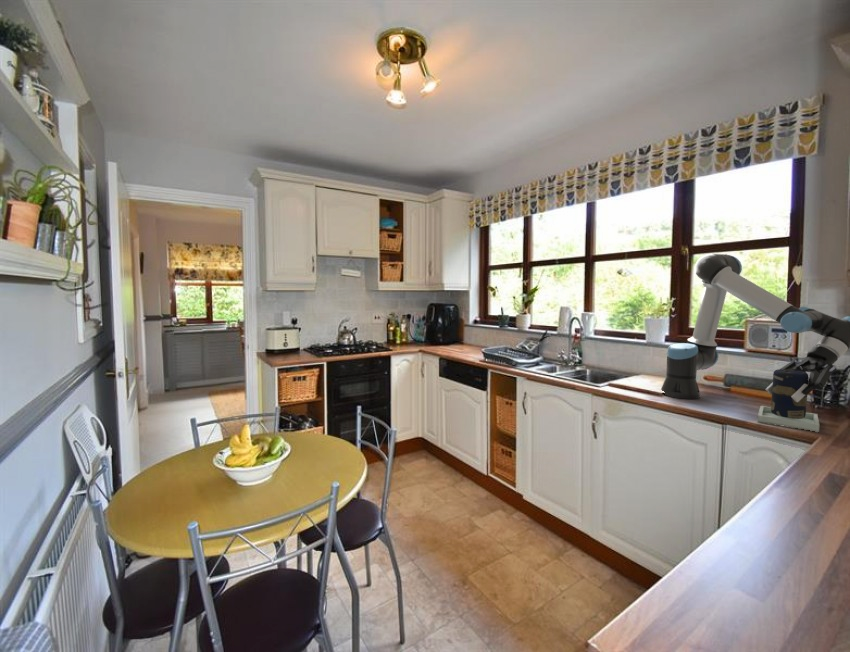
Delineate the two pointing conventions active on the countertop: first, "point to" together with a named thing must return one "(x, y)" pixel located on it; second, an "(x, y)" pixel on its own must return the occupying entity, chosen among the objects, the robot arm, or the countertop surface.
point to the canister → (788, 393)
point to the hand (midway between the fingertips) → (780, 395)
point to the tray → (789, 420)
